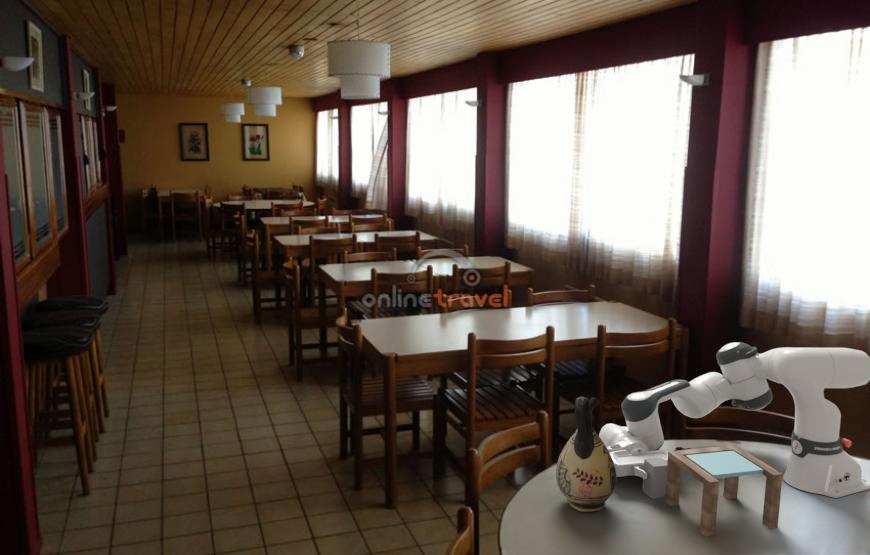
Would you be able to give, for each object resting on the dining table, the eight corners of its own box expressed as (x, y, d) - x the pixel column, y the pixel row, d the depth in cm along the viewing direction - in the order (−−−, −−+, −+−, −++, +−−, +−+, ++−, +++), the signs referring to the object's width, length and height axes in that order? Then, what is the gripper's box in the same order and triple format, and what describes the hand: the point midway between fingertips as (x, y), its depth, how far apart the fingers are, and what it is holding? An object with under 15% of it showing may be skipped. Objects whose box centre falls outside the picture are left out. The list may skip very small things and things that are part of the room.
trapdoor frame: (731, 493, 198) (735, 444, 196) (777, 527, 181) (782, 474, 178) (664, 501, 194) (668, 451, 191) (705, 536, 176) (709, 482, 174)
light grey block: (659, 488, 201) (660, 457, 200) (668, 496, 197) (670, 464, 195) (642, 490, 200) (644, 459, 199) (651, 498, 195) (653, 466, 194)
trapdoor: (732, 454, 192) (733, 450, 192) (762, 473, 181) (763, 469, 181) (685, 459, 189) (685, 455, 189) (712, 479, 178) (713, 475, 178)
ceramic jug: (565, 486, 202) (569, 381, 197) (621, 498, 195) (626, 390, 190) (544, 512, 188) (548, 400, 182) (604, 526, 180) (610, 411, 175)
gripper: (665, 461, 213) (692, 482, 200) (600, 468, 208) (623, 490, 195) (666, 441, 212) (693, 460, 198) (601, 447, 207) (624, 467, 194)
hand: (658, 475), depth 197 cm, fingers closed on light grey block, 5 cm apart
